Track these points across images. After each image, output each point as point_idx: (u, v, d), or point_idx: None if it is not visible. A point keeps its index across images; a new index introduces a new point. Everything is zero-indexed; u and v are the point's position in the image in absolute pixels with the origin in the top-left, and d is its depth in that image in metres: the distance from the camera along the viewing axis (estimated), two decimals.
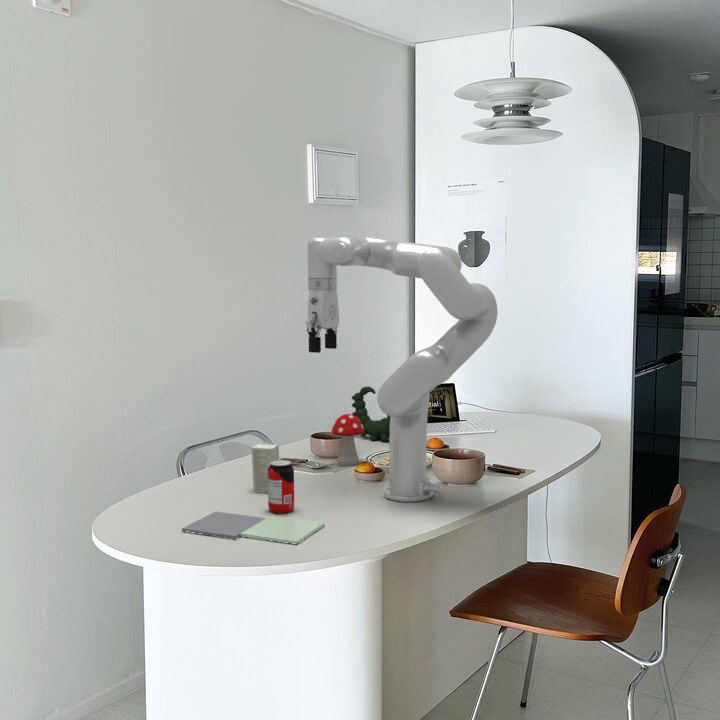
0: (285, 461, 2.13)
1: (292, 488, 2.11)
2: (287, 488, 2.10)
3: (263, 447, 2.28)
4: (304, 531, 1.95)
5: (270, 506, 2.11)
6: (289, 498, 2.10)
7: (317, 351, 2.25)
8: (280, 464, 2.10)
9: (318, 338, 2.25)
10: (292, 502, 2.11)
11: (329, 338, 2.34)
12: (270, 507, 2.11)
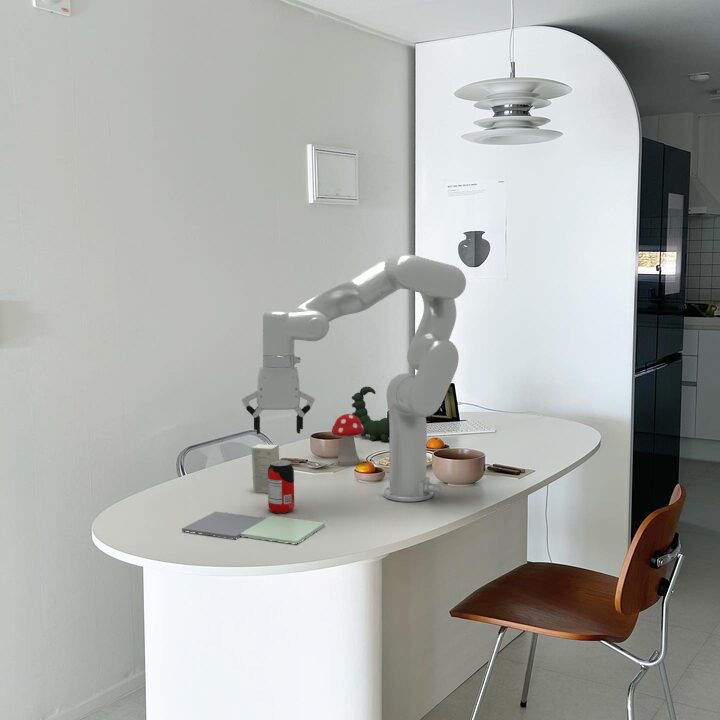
0: (285, 461, 2.13)
1: (292, 488, 2.11)
2: (287, 488, 2.10)
3: (263, 447, 2.28)
4: (304, 531, 1.95)
5: (270, 506, 2.11)
6: (289, 498, 2.10)
7: None
8: (280, 464, 2.10)
9: None
10: (292, 502, 2.11)
11: None
12: (270, 507, 2.11)
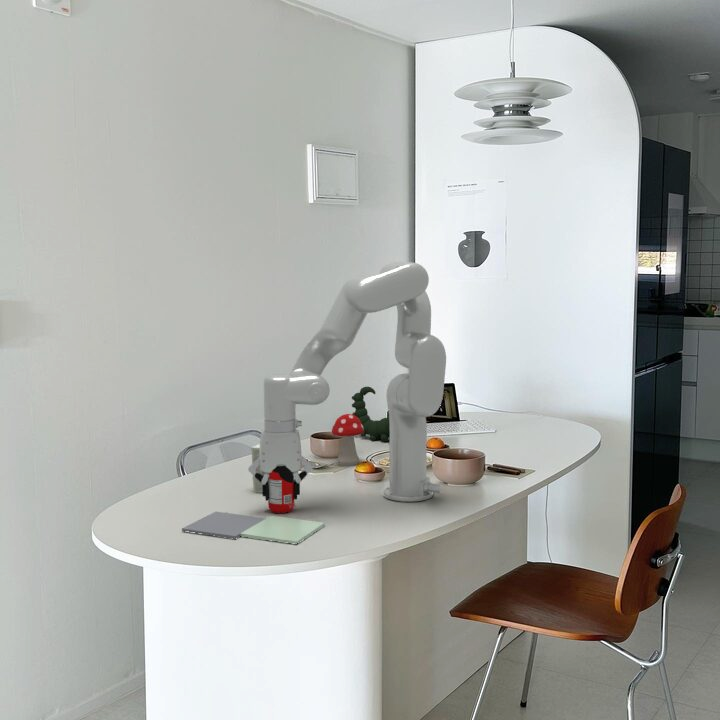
0: None
1: (292, 488, 2.11)
2: (287, 488, 2.10)
3: None
4: (304, 531, 1.95)
5: (270, 506, 2.11)
6: (289, 498, 2.10)
7: None
8: None
9: None
10: (292, 502, 2.11)
11: None
12: (270, 507, 2.11)
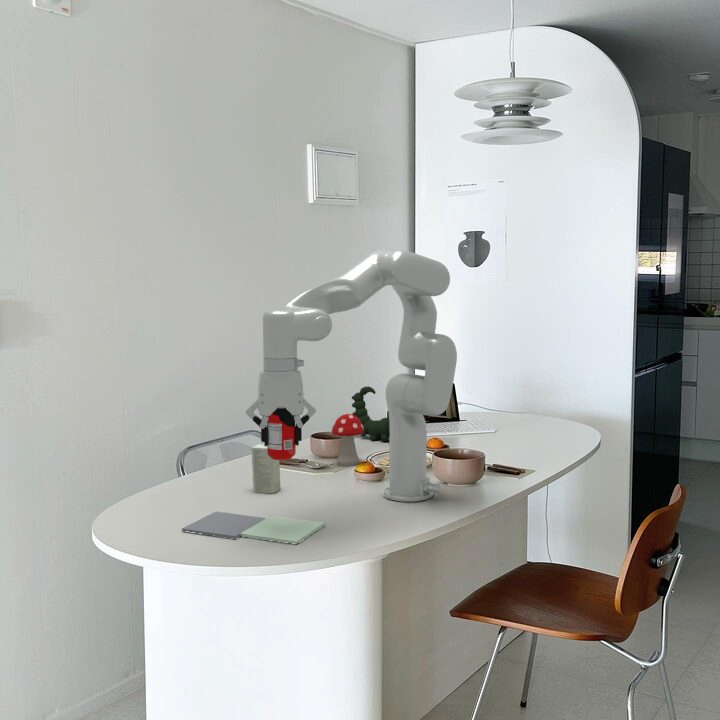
0: None
1: (293, 433, 1.95)
2: (287, 433, 1.93)
3: (263, 447, 2.28)
4: (304, 531, 1.95)
5: (270, 453, 1.94)
6: (290, 443, 1.94)
7: None
8: None
9: None
10: (293, 448, 1.95)
11: None
12: (269, 453, 1.95)
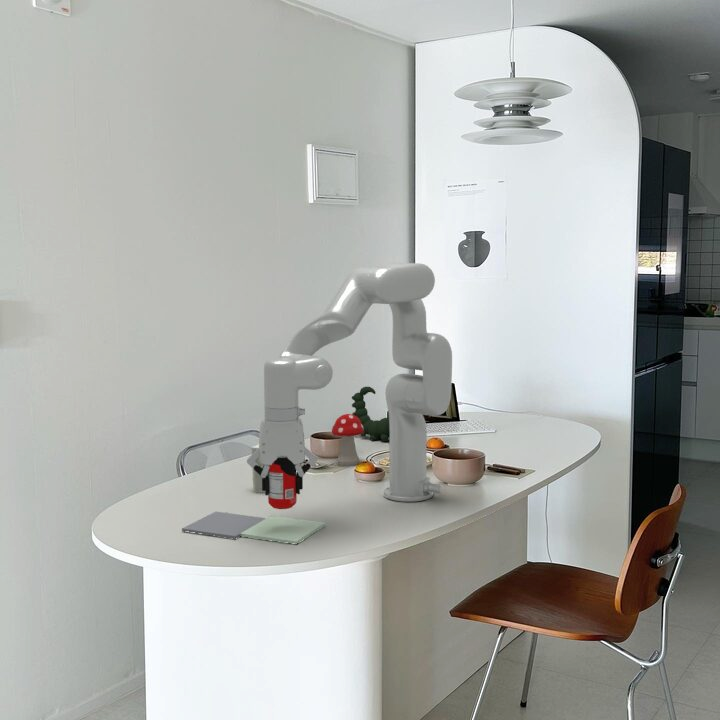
0: None
1: (294, 482, 1.94)
2: (288, 482, 1.93)
3: None
4: (304, 531, 1.95)
5: (271, 502, 1.94)
6: (291, 492, 1.94)
7: None
8: (281, 456, 1.93)
9: None
10: (294, 497, 1.95)
11: None
12: (270, 502, 1.94)
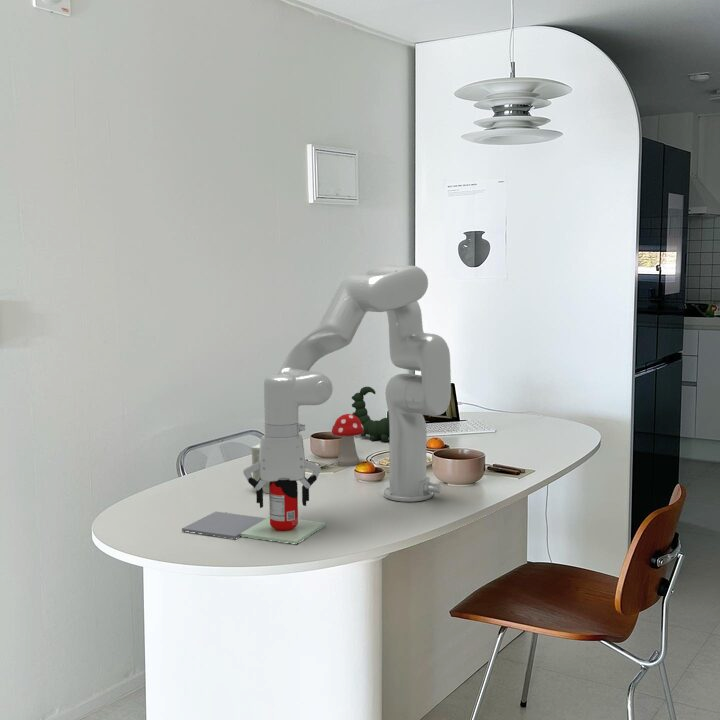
0: None
1: (295, 504, 1.95)
2: (290, 504, 1.94)
3: None
4: (304, 531, 1.95)
5: (272, 524, 1.95)
6: (292, 514, 1.94)
7: None
8: None
9: None
10: (296, 519, 1.96)
11: None
12: (272, 524, 1.95)
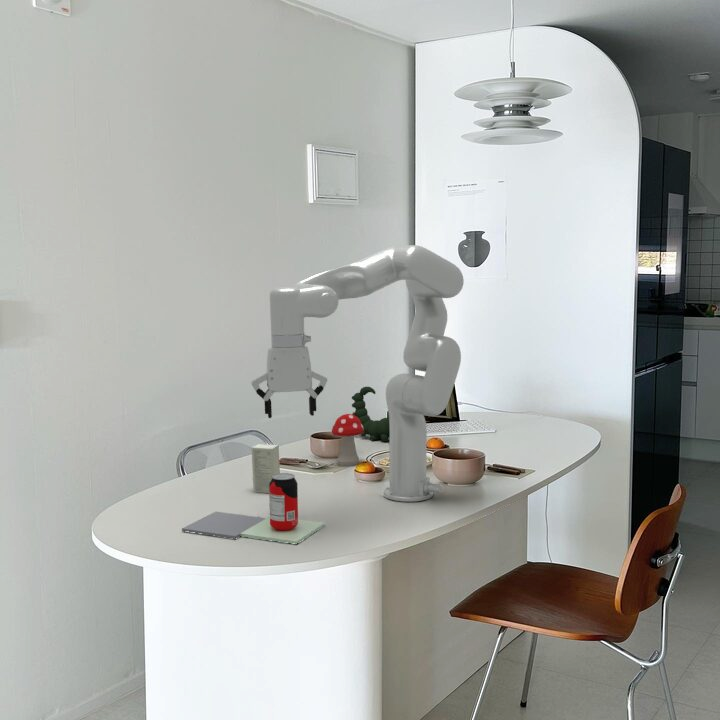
0: (288, 474, 1.97)
1: (296, 504, 1.95)
2: (290, 504, 1.94)
3: (263, 447, 2.28)
4: (304, 531, 1.95)
5: (272, 524, 1.95)
6: (292, 514, 1.94)
7: None
8: (283, 478, 1.94)
9: None
10: (296, 519, 1.96)
11: None
12: (272, 524, 1.95)
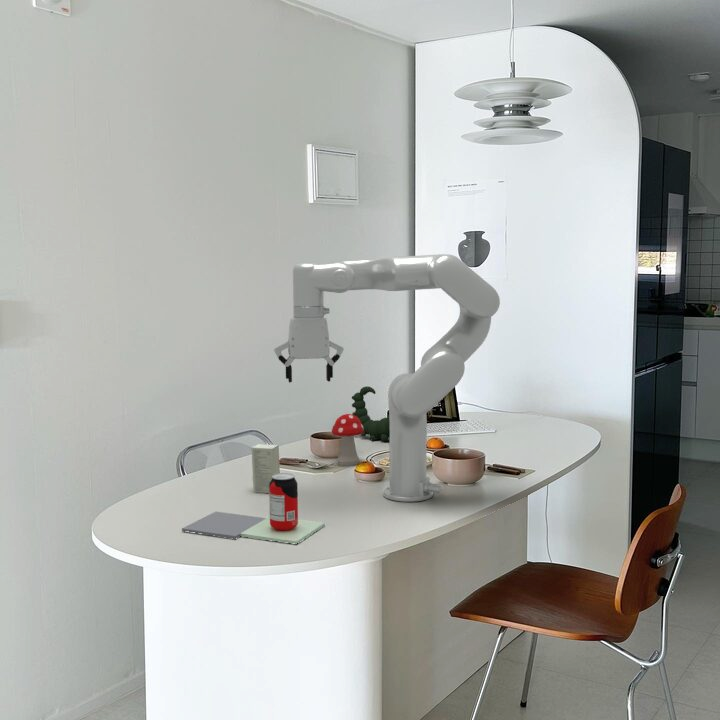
0: (288, 474, 1.97)
1: (296, 504, 1.95)
2: (290, 504, 1.94)
3: (263, 447, 2.28)
4: (304, 531, 1.95)
5: (272, 524, 1.95)
6: (292, 514, 1.94)
7: None
8: (283, 478, 1.94)
9: None
10: (296, 519, 1.96)
11: None
12: (272, 524, 1.95)
